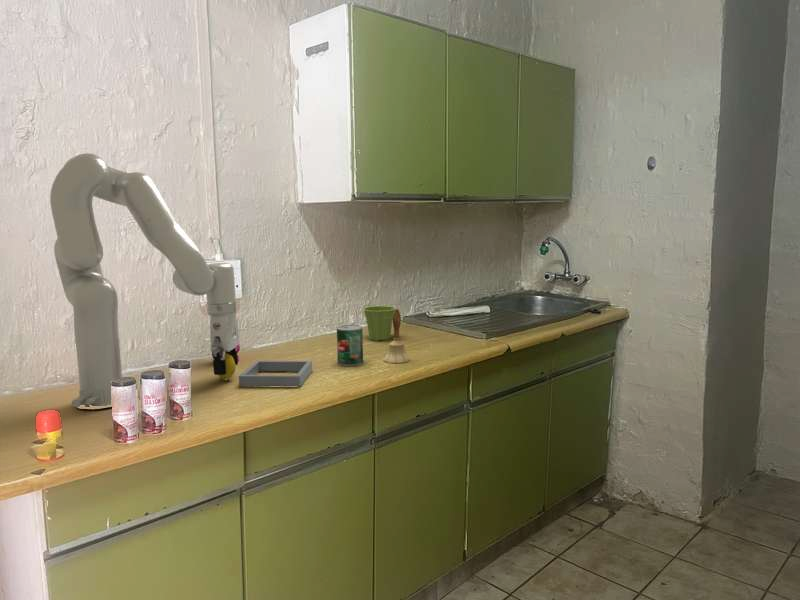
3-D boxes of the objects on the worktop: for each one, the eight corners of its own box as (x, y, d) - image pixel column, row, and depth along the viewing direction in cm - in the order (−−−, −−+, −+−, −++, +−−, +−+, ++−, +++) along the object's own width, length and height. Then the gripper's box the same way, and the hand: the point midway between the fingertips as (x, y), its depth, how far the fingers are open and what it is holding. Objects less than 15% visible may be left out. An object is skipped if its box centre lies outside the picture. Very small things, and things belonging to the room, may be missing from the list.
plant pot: (399, 336, 224) (399, 305, 223) (391, 343, 213) (390, 311, 211) (368, 335, 227) (368, 305, 226) (358, 341, 216) (358, 310, 214)
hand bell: (389, 356, 195) (389, 306, 193) (414, 358, 192) (413, 308, 190) (378, 362, 188) (378, 310, 185) (404, 364, 185) (403, 312, 182)
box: (300, 387, 163) (299, 376, 162) (239, 387, 164) (238, 376, 163) (312, 370, 179) (312, 360, 178) (256, 370, 180) (256, 360, 179)
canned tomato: (368, 361, 189) (367, 326, 188) (353, 367, 183) (352, 330, 181) (347, 358, 193) (346, 323, 192) (332, 363, 187) (331, 328, 185)
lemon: (228, 376, 174) (226, 349, 173) (240, 379, 170) (238, 351, 169) (211, 381, 170) (209, 352, 169) (223, 384, 166) (221, 355, 165)
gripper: (224, 314, 158) (229, 378, 161) (245, 303, 175) (249, 361, 178) (196, 314, 159) (201, 378, 162) (219, 303, 176) (223, 361, 179)
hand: (226, 369), depth 170 cm, fingers open, 9 cm apart
